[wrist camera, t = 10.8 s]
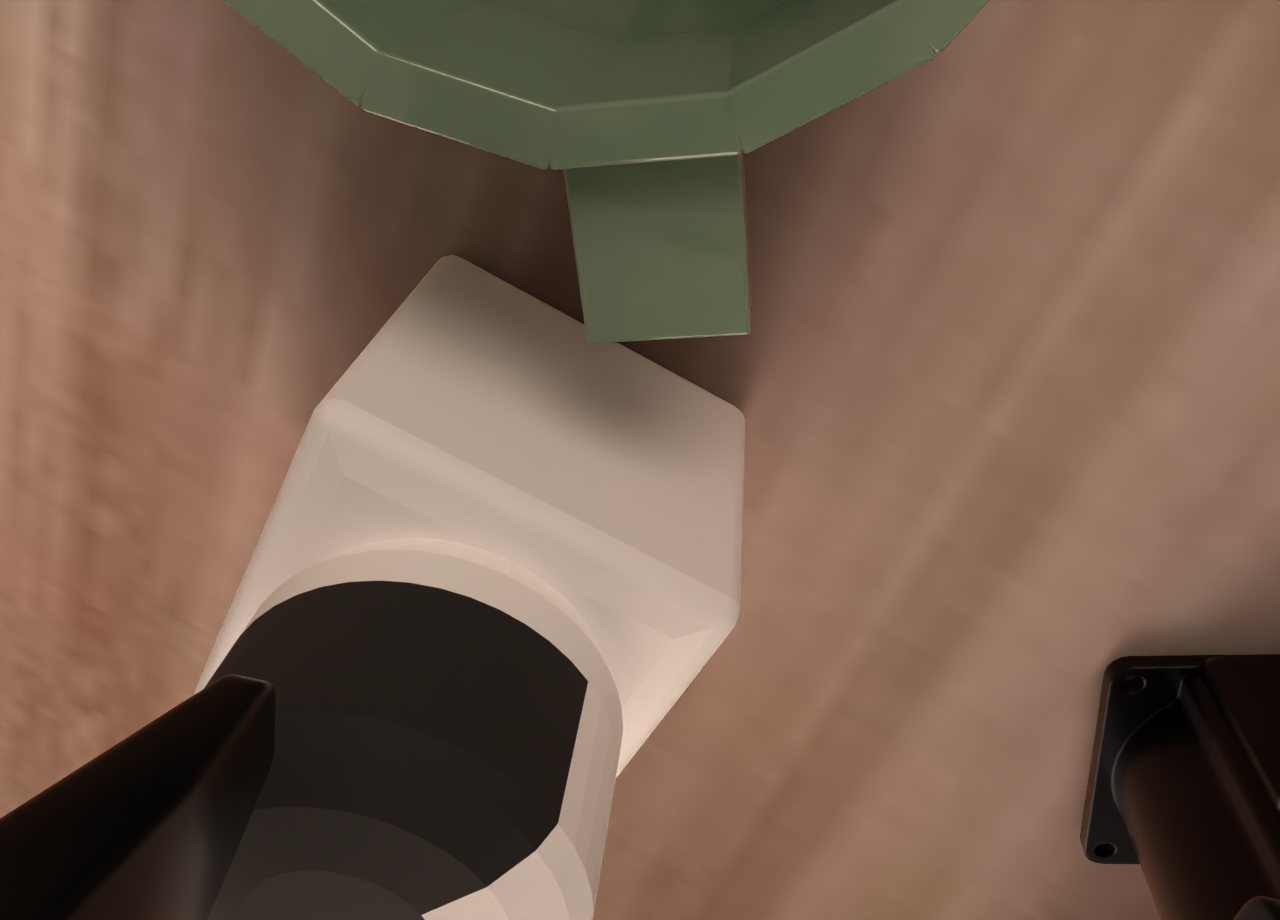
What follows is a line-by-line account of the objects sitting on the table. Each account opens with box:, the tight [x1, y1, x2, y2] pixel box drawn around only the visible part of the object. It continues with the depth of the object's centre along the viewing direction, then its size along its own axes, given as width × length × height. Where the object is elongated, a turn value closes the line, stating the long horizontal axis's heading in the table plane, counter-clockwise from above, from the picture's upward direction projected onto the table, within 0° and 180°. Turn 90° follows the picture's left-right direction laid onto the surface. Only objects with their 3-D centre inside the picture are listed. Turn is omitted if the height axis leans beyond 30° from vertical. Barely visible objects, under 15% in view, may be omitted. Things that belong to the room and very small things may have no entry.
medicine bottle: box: [194, 255, 745, 920], centre depth 18 cm, size 7×7×12 cm
